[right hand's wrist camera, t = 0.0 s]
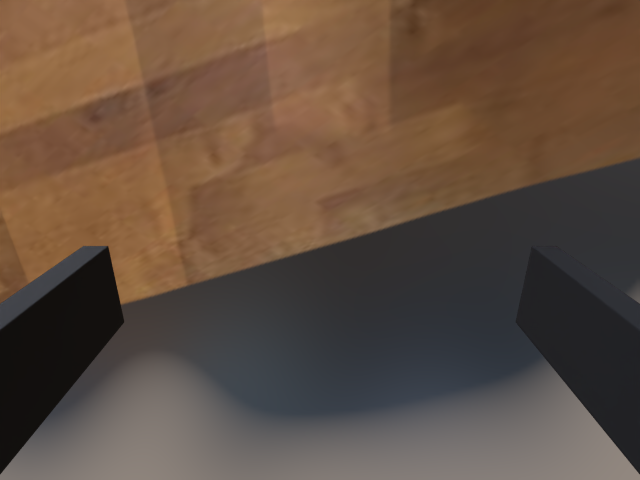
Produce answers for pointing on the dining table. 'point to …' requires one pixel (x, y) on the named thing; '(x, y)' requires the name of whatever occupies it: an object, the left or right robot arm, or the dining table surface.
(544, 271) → the right robot arm
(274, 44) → the dining table surface
